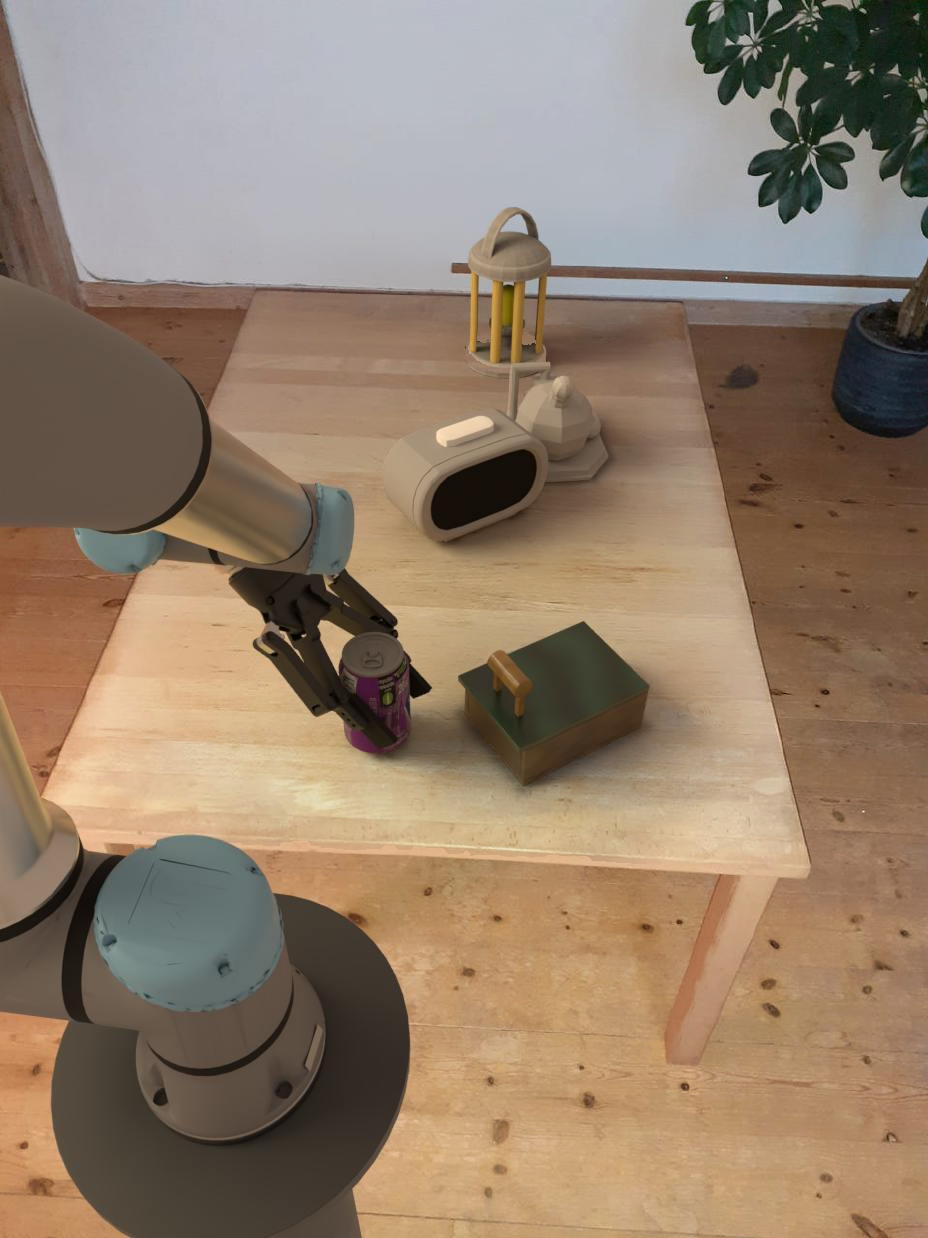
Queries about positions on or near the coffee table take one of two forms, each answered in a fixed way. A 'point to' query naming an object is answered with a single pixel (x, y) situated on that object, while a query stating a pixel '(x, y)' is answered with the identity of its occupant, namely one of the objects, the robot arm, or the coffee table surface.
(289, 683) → the robot arm
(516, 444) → the alarm clock
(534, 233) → the lantern
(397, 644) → the beverage can
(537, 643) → the green box lid
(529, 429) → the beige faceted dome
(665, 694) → the coffee table surface
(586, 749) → the wooden box
